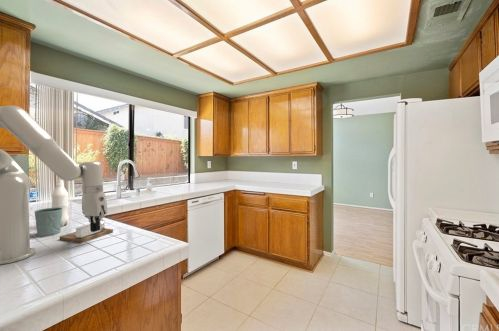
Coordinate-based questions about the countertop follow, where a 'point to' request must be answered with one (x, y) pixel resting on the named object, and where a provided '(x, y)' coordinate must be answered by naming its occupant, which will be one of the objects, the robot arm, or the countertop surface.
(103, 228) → the latch bar
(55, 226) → the green plant pot
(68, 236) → the lock base
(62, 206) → the water bottle
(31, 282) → the countertop surface
